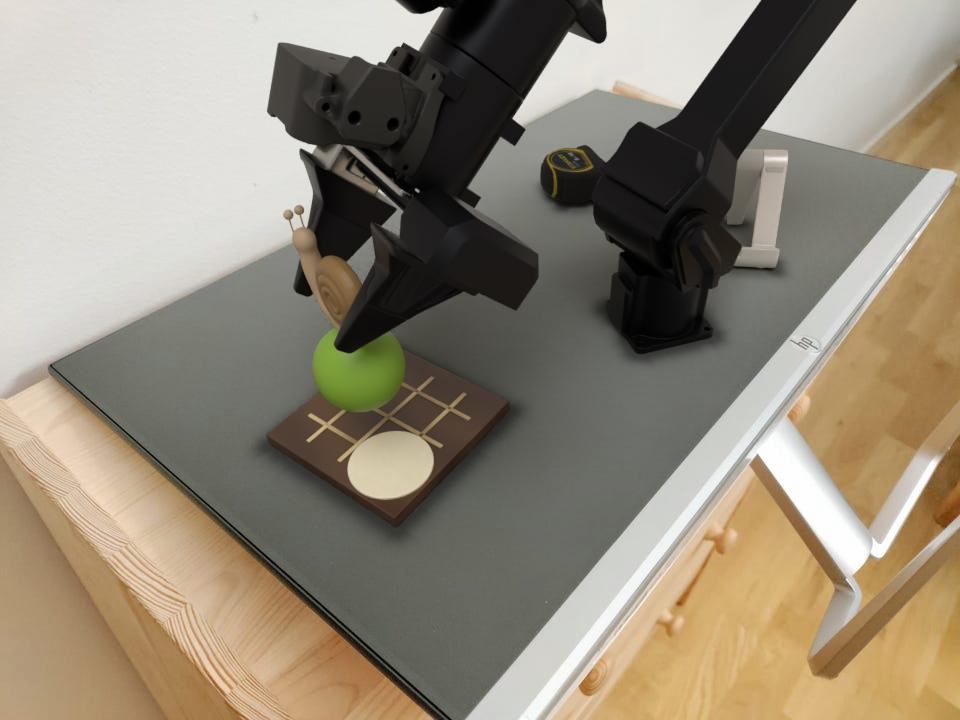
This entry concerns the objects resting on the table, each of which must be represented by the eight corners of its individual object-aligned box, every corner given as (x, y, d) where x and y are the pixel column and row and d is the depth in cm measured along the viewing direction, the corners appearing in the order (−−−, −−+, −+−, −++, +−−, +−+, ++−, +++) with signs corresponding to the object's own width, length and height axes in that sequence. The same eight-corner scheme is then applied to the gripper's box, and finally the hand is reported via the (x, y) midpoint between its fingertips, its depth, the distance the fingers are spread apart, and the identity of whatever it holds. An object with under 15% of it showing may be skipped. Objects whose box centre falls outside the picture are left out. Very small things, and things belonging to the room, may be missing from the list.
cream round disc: (425, 433, 49) (423, 422, 48) (444, 496, 45) (442, 485, 44) (345, 453, 48) (342, 442, 47) (357, 519, 44) (353, 507, 43)
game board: (386, 349, 56) (384, 338, 55) (509, 410, 50) (509, 400, 49) (268, 444, 49) (264, 433, 48) (396, 527, 43) (393, 517, 43)
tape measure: (619, 201, 71) (622, 167, 68) (555, 215, 69) (556, 180, 67) (590, 172, 76) (592, 139, 73) (530, 184, 74) (530, 151, 72)
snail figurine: (369, 349, 47) (332, 187, 39) (428, 398, 43) (401, 230, 35) (299, 390, 45) (244, 225, 37) (354, 445, 41) (307, 276, 33)
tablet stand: (670, 267, 62) (684, 180, 56) (668, 220, 68) (680, 137, 62) (774, 273, 60) (798, 184, 55) (763, 224, 66) (783, 139, 61)
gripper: (278, -70, 36) (140, 193, 39) (462, 16, 24) (238, 385, 27) (431, 53, 44) (305, 262, 47) (628, 164, 32) (438, 434, 35)
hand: (319, 320), depth 39 cm, fingers closed on snail figurine, 6 cm apart
